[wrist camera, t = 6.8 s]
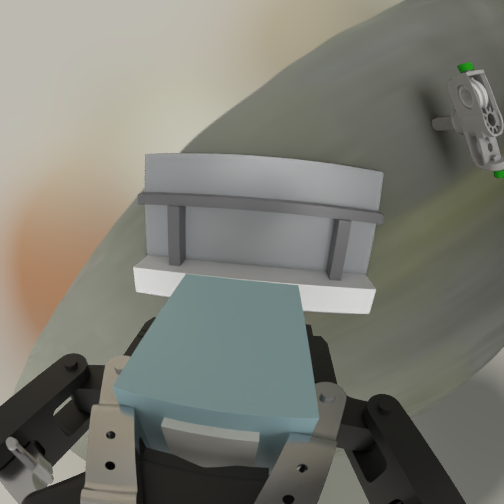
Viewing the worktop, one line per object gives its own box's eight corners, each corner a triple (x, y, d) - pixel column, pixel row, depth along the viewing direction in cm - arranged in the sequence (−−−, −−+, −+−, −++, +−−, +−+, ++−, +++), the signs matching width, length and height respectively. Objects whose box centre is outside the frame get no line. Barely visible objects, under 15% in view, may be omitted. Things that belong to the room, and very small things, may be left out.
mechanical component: (442, 170, 24) (499, 181, 15) (409, 84, 21) (460, 63, 12) (458, 162, 23) (516, 172, 14) (427, 80, 21) (480, 60, 11)
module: (298, 285, 12) (320, 427, 5) (284, 361, 13) (286, 489, 6) (186, 273, 12) (107, 394, 5) (189, 350, 14) (144, 467, 7)
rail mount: (379, 171, 25) (398, 175, 21) (353, 308, 31) (363, 331, 26) (150, 153, 26) (128, 154, 22) (154, 290, 32) (138, 309, 27)
